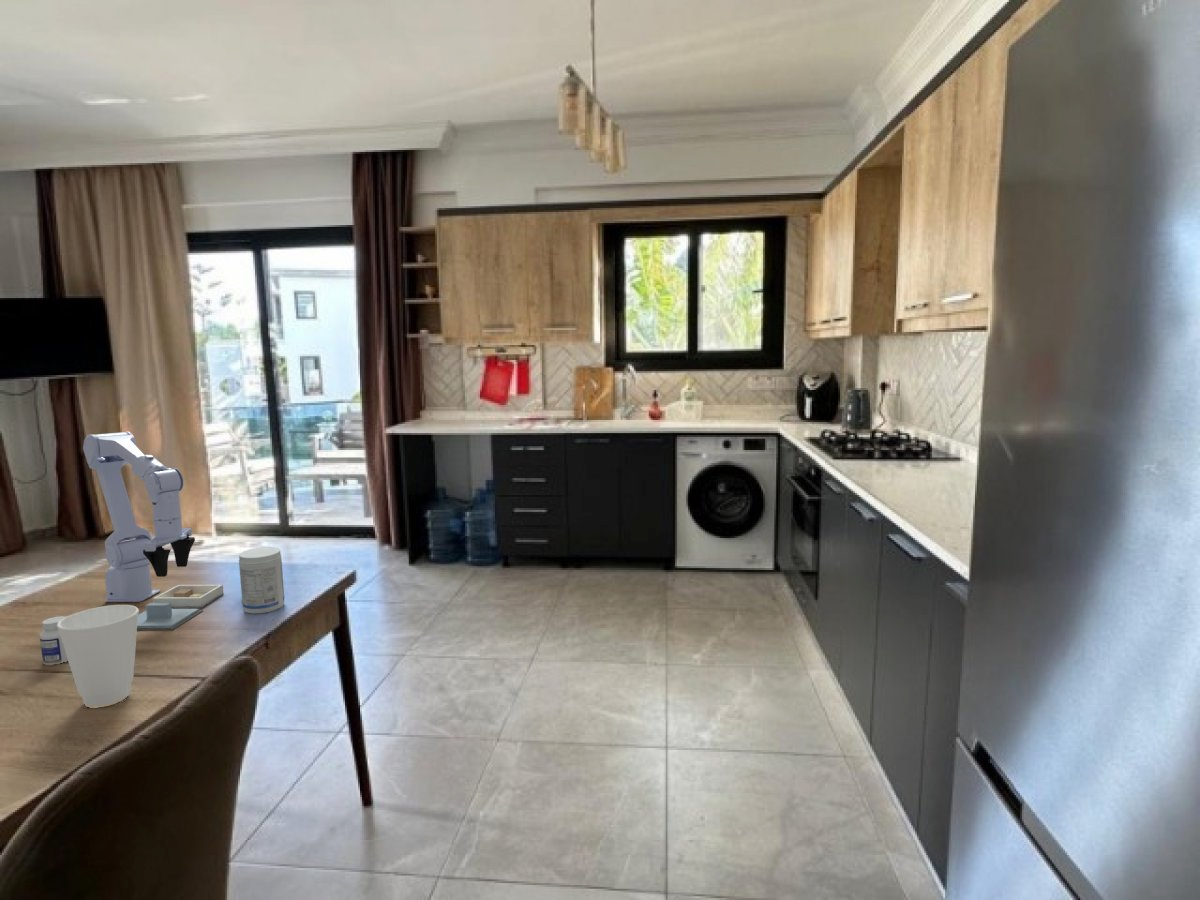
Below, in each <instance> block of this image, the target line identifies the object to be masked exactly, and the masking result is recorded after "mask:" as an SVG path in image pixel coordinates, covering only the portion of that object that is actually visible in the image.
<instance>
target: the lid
mask: <svg viewBox="0 0 1200 900" xmlns="http://www.w3.org/2000/svg"><path fill="white" fill-rule="evenodd" d="M199 610H200V608H171V603H153V602H149V603H148V604H146V605H145V610H144V611H142V612H140V613H138V620H137V628H172V627H174V626H175V625H177V624H179V623H180V622H182V621H184V620H185V619H187V618H188V617H190V616H192V615H193V614H195V613H196V612H198V611H199Z"/></svg>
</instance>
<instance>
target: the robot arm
mask: <svg viewBox="0 0 1200 900" xmlns="http://www.w3.org/2000/svg"><path fill="white" fill-rule="evenodd" d="M82 450H83V453H84V456H85V459H86V463H87V464H88V467H89V469H90V470H94V471H96V474H97V475H96V476H97V478H98V480H99V485H100V488H101V491H102V494H103V497H104V501H105V504H106V507H107V510H108V514H109V518H110V521H111V524H112V526H113V532H112V533H110V535H109V536H108V537H107V538H106V539H105V541H104V547H105V558H106V561H107V563H108V564H109V567H108V568H107V570H106V572H105V576H104V581H105V591H106V599H104V601H105V602H106V603H109V602H110V603H112V602H113V603H114V602H115V603H116V602H117V603H118V602H119V603H124V602H125V603H127V602H128V603H131V602H133V603H136V602H137V603H138V602H140V603H141V602H143V601H145V600H147V599H149V598H151V597H153V596H154V595H156V594H158V593H161V589H153V584H152V582H153V581H152V574H151V573H152V572H151V566H152V568H153V571H154V573H155V575H156V577H157V578H158V577H159V578H161V577H162V578H165V577H167V576H168V571H169V570H168V562H169V556H170V553H171V551H172V550H173V554H174V559H175V564H176V567H177V568H181V567H182V568H183V567H184V568H185V567H187V566H188V562H189V557H190V554H191V553H190V552H191V551H192V550H191V549H192V546H193V545H194V544H195V541H196V540H195V539H196V537H195V536H193V533H192V532H193V531H192V528H191V527H190V528H189V527H183V523H182V521H183V520H182V511H181V501H180V500H181V499H180V492H181V491H182V490H183V488H184V484H185V483H184V482H185V481H184V477H183V474H182V472H181V471H180V470H179V469H178V468H177V467H176V468H175V467H173V468H172V467H167V466H166V465H164V464H163V463H162V462H160V460H158V459H157V458H156V457H154V455H152V454H144V453H143V452H142V450H141V449H139V447H138V446H137V441H136V438H135V436H134V435H133V434H132V432H130V431H126V430H125V431H123V432H121V431H120V432H112V433H111V432H110V433H98V434H91V433H90V434H87V435H86V436H85V438H84V440H83V446H82ZM127 464H130V465H131V471H132V473H133V474H134V475H136V476H137V477H138V478H139V479H140V480H141V481H142V482H144V487H145V490H146V492H147V495H148V499H149V502H151V506H152V507H151V508H152V517H153V519H152V520H153V529H154V537H153V536H152V535H151V534H152V533H151V532H150V530H148V529H146V528H144V527H141V526H140V525H137V520H136V517H135V514H134V512H133V507H132V503H131V501H130V497H129V494H128V491H127V488H126V485H125V484H126V483H125V481H124V478H123V475H122V471H121V469H122V468H123V467H124V466H126V465H127ZM169 544H170V546H171V548H172V550H171V548H170V549H169V548H168V549H167V548H165V546H166V545H169Z"/></svg>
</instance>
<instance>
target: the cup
mask: <svg viewBox="0 0 1200 900" xmlns="http://www.w3.org/2000/svg"><path fill="white" fill-rule="evenodd" d="M139 612H140V610H139V608H138V607H137V606H135V605H133V604H132V605H131V604H112V605H104V606H103V605H102V606H98V607H97V606H96V607H93V608H89V609H85V610H81V611H78V612H74V613H72V614H69V615H68V616H65V618H63V619H62V620H60V621H59V622H58V624H57V628H58V630H59V633H60V636H61V639H62V643H63V646H64V649H65V652H66V655H67V658H68V665H69V667H70V671H71V674H72V677H73V679H74V680H73V681H74V683H75V687H76V690H77V692H78V695H79V696H81V698H82V702H83V705H84V704H85V705H87V706H101V705H106V704H110V703H114V702H117V701H120V700H122V699H123V698H125V697H127V696H128V695H129V694H130V692H131V693H132V683H133V681H134V673H135V659H136V647H137V646H136V644H137V634H138V633H137V632H138V630H137V620H138V614H139ZM130 695H131V694H130Z"/></svg>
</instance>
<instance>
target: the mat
mask: <svg viewBox="0 0 1200 900" xmlns="http://www.w3.org/2000/svg"><path fill="white" fill-rule="evenodd" d="M200 612H201V613H203V612H204V610H203V609H201V610H200V609H199V611H198V612H196V613H195V614H193V615H192V616H190V617H188V618H187V619H185V620H184V621H182V622H180V623H179V624H177V625H175V626H174V627H172V628H137V631H174V630H175V629H177V628H179V627H180V626H182V625H184V624H185V623H187V622H188V621H190V620H191V619H193V618H194V616H195V617H196V616H198V615H199V614H201V613H200ZM197 614H198V615H197ZM178 626H179V627H178ZM173 629H174V630H173Z"/></svg>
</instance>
